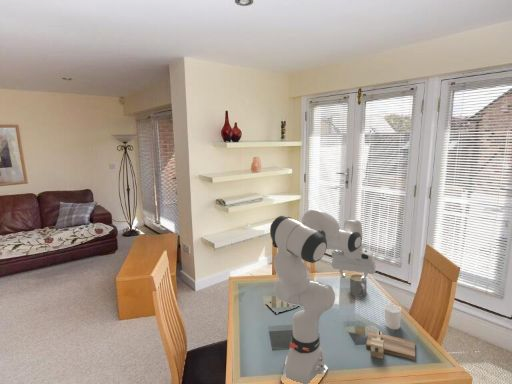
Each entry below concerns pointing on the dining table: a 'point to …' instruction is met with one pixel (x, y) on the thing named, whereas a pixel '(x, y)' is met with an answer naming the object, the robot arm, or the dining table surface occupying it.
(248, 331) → the dining table surface
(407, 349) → the board
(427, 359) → the dining table surface
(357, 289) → the coffee mug
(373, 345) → the gauge
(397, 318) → the white cup
